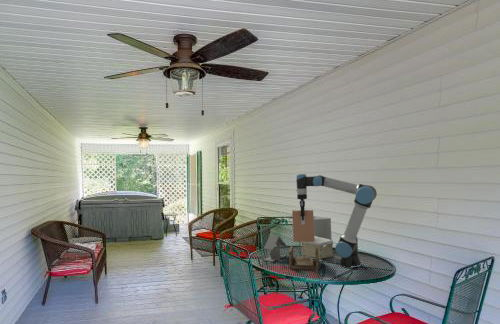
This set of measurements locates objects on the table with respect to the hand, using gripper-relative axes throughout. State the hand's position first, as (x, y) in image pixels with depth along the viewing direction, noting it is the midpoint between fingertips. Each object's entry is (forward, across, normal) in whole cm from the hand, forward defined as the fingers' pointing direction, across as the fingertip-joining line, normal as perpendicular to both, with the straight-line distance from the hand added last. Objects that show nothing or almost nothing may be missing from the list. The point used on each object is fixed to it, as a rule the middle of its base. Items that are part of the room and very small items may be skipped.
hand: (303, 223), depth 256 cm
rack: (+32, +5, 0) cm, 33 cm away
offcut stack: (+31, +9, 0) cm, 32 cm away
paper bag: (+32, -51, +10) cm, 62 cm away
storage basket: (+33, -26, +9) cm, 42 cm away
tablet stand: (+32, -14, -25) cm, 43 cm away
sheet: (+14, 0, 0) cm, 14 cm away
